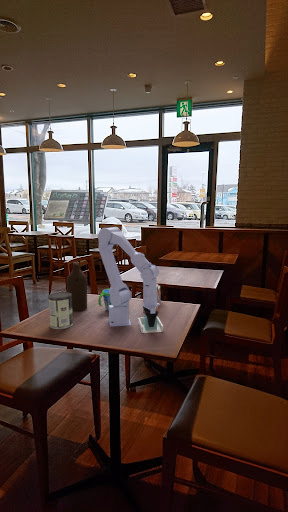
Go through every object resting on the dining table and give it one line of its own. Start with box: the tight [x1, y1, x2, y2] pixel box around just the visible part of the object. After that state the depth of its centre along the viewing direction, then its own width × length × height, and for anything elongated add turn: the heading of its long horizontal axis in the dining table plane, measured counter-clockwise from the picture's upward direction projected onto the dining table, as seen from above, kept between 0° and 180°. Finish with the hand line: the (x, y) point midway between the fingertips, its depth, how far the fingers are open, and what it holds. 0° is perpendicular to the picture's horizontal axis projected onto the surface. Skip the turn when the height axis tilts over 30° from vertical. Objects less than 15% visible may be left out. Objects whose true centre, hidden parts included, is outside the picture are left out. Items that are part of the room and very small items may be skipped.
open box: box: [137, 316, 164, 334], centre depth 136 cm, size 9×12×3 cm
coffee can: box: [47, 291, 74, 330], centre depth 141 cm, size 10×10×14 cm
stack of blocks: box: [142, 283, 162, 314], centre depth 166 cm, size 21×6×12 cm, turn 170°
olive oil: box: [66, 261, 88, 313], centre depth 163 cm, size 11×11×25 cm
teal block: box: [143, 314, 158, 330], centre depth 136 cm, size 5×5×5 cm
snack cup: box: [98, 287, 112, 312], centre depth 163 cm, size 16×10×10 cm
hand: (150, 324), depth 136 cm, fingers closed on teal block, 5 cm apart
